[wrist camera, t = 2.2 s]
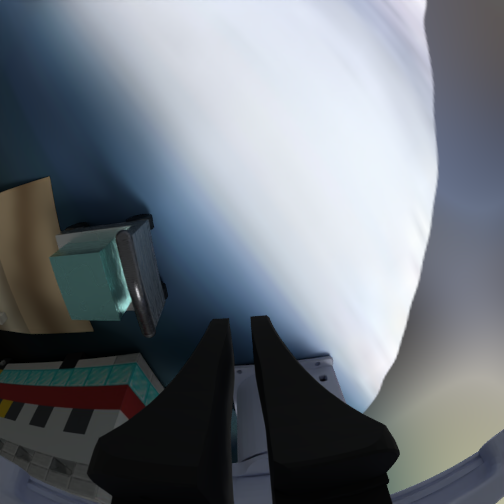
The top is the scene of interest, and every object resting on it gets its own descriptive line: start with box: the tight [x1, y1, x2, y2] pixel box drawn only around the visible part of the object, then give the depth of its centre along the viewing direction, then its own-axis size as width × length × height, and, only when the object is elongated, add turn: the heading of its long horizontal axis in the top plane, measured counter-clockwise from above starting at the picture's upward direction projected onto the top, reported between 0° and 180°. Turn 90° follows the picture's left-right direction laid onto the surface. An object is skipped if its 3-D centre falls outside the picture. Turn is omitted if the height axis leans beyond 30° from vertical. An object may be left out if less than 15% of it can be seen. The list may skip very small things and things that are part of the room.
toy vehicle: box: [0, 352, 164, 504], centre depth 18 cm, size 8×30×15 cm, turn 105°
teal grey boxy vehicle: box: [49, 214, 168, 338], centre depth 17 cm, size 7×7×5 cm
